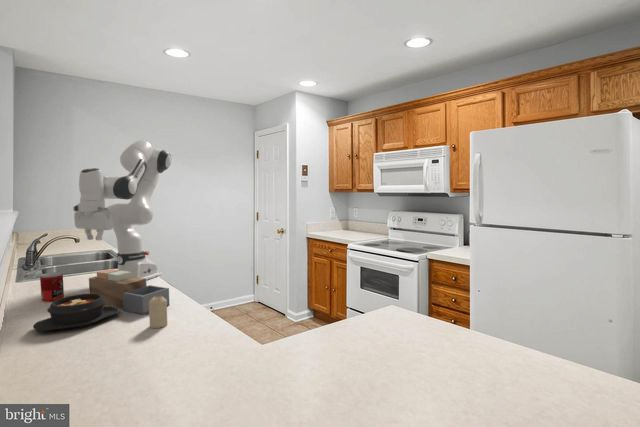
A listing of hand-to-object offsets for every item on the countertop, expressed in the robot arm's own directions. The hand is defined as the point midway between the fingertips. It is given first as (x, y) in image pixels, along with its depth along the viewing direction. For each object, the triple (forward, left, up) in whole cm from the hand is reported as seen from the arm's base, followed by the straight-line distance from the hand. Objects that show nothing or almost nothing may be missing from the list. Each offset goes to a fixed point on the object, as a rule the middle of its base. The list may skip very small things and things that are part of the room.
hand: (94, 239), depth 155 cm
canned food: (+9, -16, -25) cm, 31 cm away
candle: (+11, +50, -25) cm, 57 cm away
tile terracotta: (0, +8, -15) cm, 17 cm away
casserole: (+21, +22, -25) cm, 40 cm away
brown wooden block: (0, +14, -25) cm, 29 cm away
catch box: (0, +31, -25) cm, 40 cm away
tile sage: (0, +15, -15) cm, 21 cm away
